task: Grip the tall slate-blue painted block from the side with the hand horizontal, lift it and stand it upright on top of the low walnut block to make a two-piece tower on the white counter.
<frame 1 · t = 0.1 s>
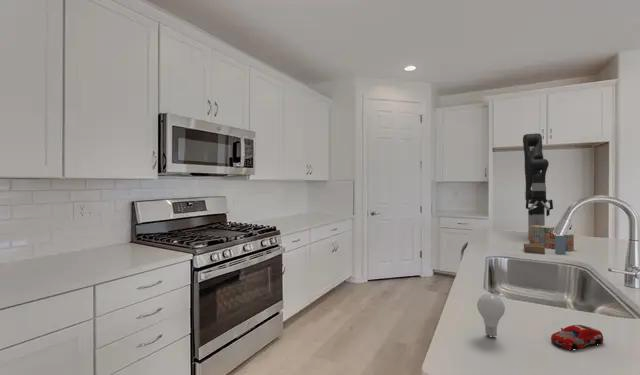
hand: (539, 215, 205), 17 cm above the countertop, tool pointing down, fingers open, 8 cm apart
race car: (576, 344, 80), on the countertop
stack of blocks: (550, 248, 192), on the countertop
base block: (533, 252, 181), on the countertop
pillar block: (560, 253, 176), on the countertop
lightbulb: (491, 337, 84), on the countertop
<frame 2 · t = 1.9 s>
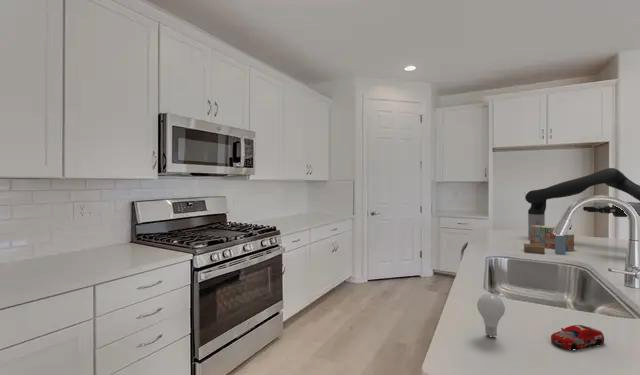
hand: (585, 209, 170), 24 cm above the countertop, tool horizontal, fingers open, 8 cm apart
nothing on the countertop moved.
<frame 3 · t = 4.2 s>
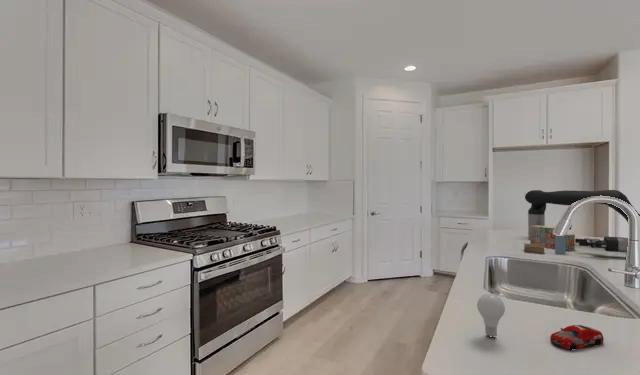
hand: (577, 242, 172), 7 cm above the countertop, tool horizontal, fingers open, 8 cm apart
nothing on the countertop moved.
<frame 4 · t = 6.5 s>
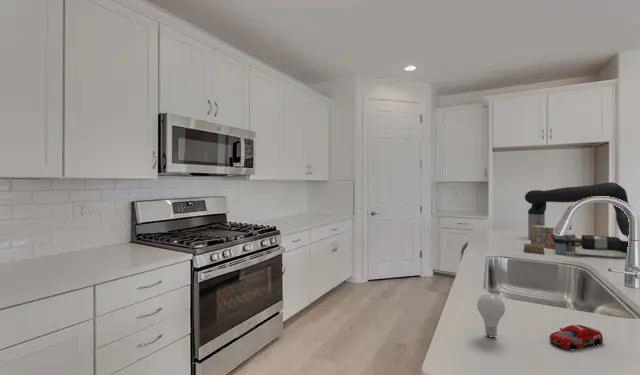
hand: (554, 240, 177), 7 cm above the countertop, tool horizontal, fingers closed on pillar block, 4 cm apart
pillar block: (560, 253, 176), on the countertop, touching gripper
everything else where it was.
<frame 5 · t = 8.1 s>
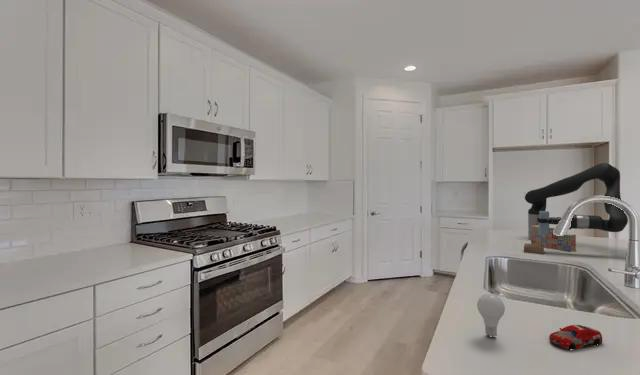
hand: (538, 220, 180), 18 cm above the countertop, tool horizontal, fingers closed on pillar block, 4 cm apart
pillar block: (544, 233, 179), point 11 cm above the countertop, touching gripper
everything else where it was.
when the fingers open (12 cm above the countertop, at t = 9.9 s): pillar block drops 1 cm, resting on base block.
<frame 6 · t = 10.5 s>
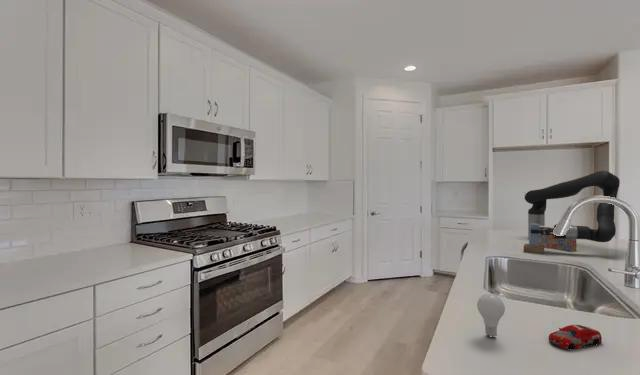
hand: (529, 230, 182), 12 cm above the countertop, tool horizontal, fingers open, 8 cm apart
base block: (533, 252, 181), on the countertop, touching pillar block
pillar block: (533, 245, 181), point 4 cm above the countertop, touching base block
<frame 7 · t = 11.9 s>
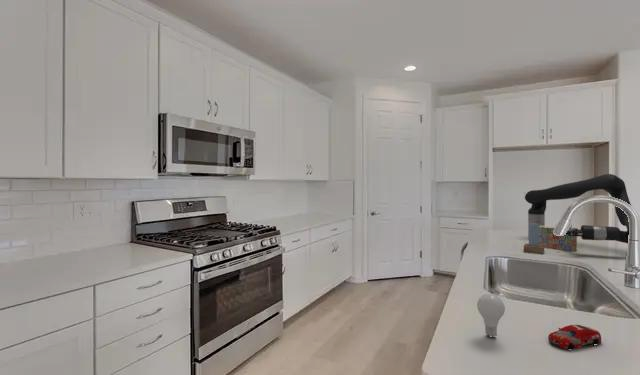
hand: (555, 231, 176), 12 cm above the countertop, tool horizontal, fingers open, 8 cm apart
base block: (534, 252, 181), on the countertop
pillar block: (533, 245, 181), point 4 cm above the countertop
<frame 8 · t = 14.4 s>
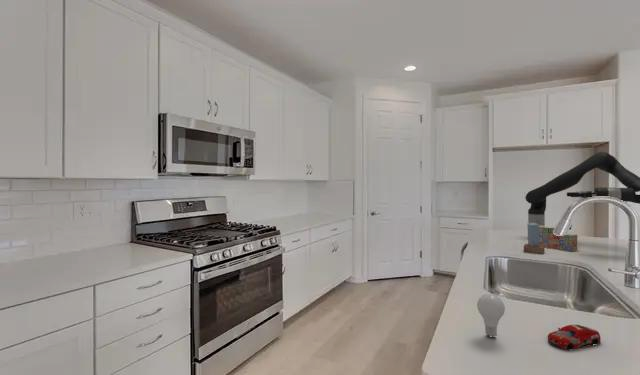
hand: (568, 194, 175), 32 cm above the countertop, tool horizontal, fingers open, 8 cm apart
base block: (534, 252, 181), on the countertop, touching pillar block
pillar block: (533, 244, 181), point 4 cm above the countertop, tilted 8°, touching base block
at the end: pillar block 0.0 cm off-centre on the base block, point 4.3 cm above the base block's base; pillar block tilted 7°; the gripper is holding nothing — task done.
